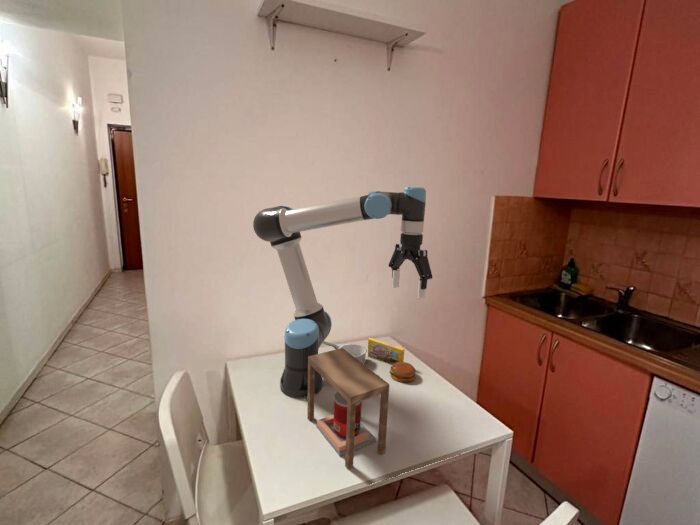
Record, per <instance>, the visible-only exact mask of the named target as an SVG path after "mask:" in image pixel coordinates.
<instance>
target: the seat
mask: <svg viewBox="0 0 700 525" xmlns="http://www.w3.org/2000/svg"><path fill="white" fill-rule="evenodd" d="M333 425H334V414H332V415H329V416H326V417H323V418H320V419H318V420H317V421H316V424H315V427H316V428H317V430H318V431H319V432H320V434H321V435H322V436H323V438H325V440H326V441H327V442H328V443H329V446H331V448H332V449H333V450H334V451H335V452H336V454H337V455H338V456H339V457H343V456H344V455H345V456H346V438H342V437H340V436H338V435H337V434H336V433H335V431H334V428H333ZM376 441H377V437H376V436H375V435H374V434H373V433H372V432H370V430H368V428H366V426H365V425H364V424H363V423H362V422H360V431H359V433H358V435H357V436H355V437H354V451H356V450H358V449H361V448H364V447H366V446H367V445H369V444H370V445H371V444H372V443H376Z"/></svg>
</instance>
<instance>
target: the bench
mask: <svg viewBox="0 0 700 525" xmlns="http://www.w3.org/2000/svg"><path fill="white" fill-rule="evenodd" d="M315 370H316V371H317V372H318V373H319V374H320V375H321V376H322V379H323V380H325V381H326V382H327V383H328V384H329V385H330V386H331V388H333V389H334V390H335V391H336V393H337V392H338V393H339V394H340V395H341V396H342V397H343V398H345V399H346V400H347V401H348V402H347V429H346V454H345V459H344V462H345V463H344V464H345V465H344V466H345V468H346V469H347V470H350V469H353V468H354V456H355V455H354V454H355V453H354V452H355V450H354V434H355V410H356V403H357V402H360V401H361V402H362V401H364V400H365V401H366V400H369V399H371V398H373V397H376V396H379V395H380V403H379V404H380V405H379V417H378V435H377V436H378V437H377V438H378V439H377V449H376V450H377V452H378V453H379V455H381V456H382V455H383V454H385V453H386V442H387V441H386V440H387V429H388V427H387V426H388V412H389V400H390V399H389V395H390V383H389V382H387V381H386V380H384V379H383V377H380V375H378V374H377V373H375V372H374V371H373V370H372V369H370V368H369V367H367V366H366V365H365V363H364V364H363V363H361V362H360V361H359V360H357V359H356V358H355V357H353V356H352V355H351V354H350V353H348V352H347V351H346V350H344V349H343V348H340V349H332V350H329V351H324V352H322V353H320V352H319V353H318V354H316V355H312V356H308V397H307V416H306V417H307V420H308V421H309V422H310V421H314V419H315V394H314V379H315Z"/></svg>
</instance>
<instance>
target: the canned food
mask: <svg viewBox="0 0 700 525" xmlns="http://www.w3.org/2000/svg"><path fill="white" fill-rule="evenodd" d="M347 402H348V401H347V400H346V399H345V398H343V397H342V396H341V395H340V394H339V393H338V392H337V391H336V393H335V394H334V397H333V415H334V425H333V428H334V431H335V433H336V434H337V435H338V436H340V437H342V438H346V429H347ZM361 417H362V401H360V402H357V403H356V410H355V434H354V437H355V436H357V435H358V433H359V431H360V422H361V421H362V420H361V419H362V418H361ZM361 423H362V422H361Z"/></svg>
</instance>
